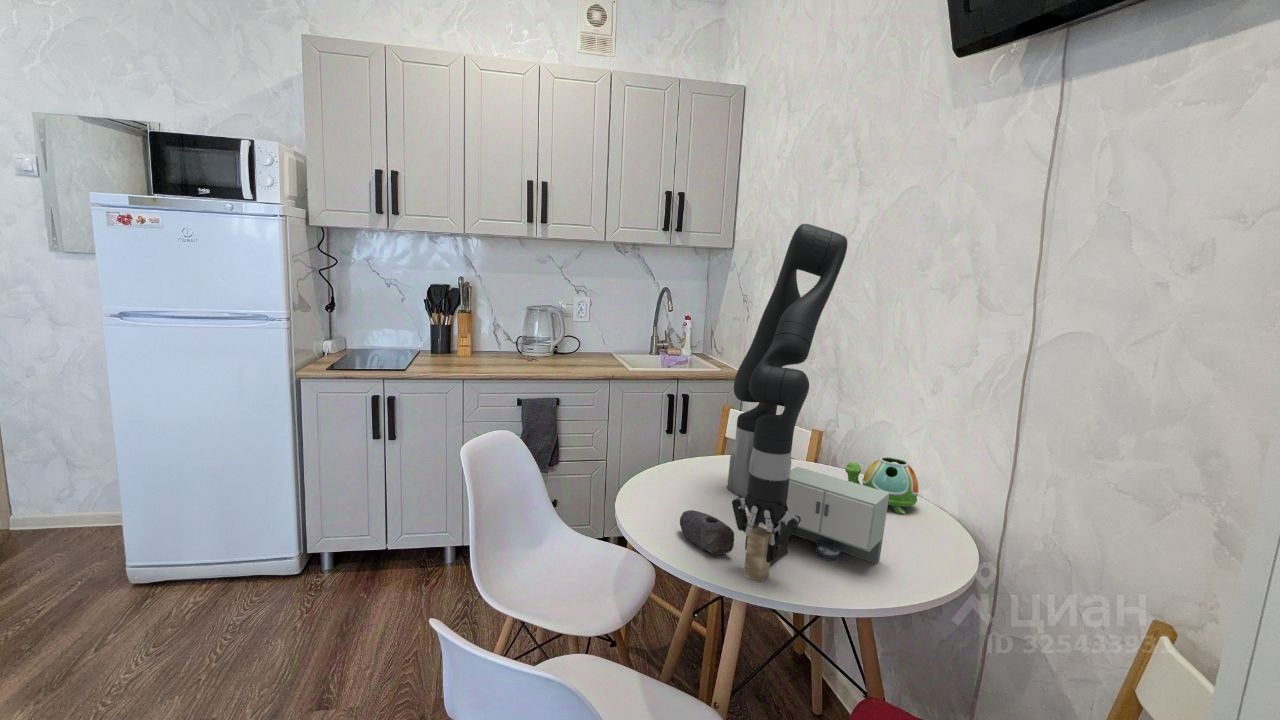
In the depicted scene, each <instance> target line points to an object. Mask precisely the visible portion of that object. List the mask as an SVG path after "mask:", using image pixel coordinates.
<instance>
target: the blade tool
mask: <svg viewBox="0 0 1280 720" xmlns="http://www.w3.org/2000/svg"><path fill="white" fill-rule="evenodd" d="M768 538H769V535H768V533H767V531H766V528H764V527H761V526H759V525H758V526H756V527H754V529H751V530H750V531H748V538H747V548H746V550H745V558H744V569H743V576H744V577H746V578H749V579H751V580H753V581H756V582H758V583H762V582H763V580H765V579H766V578H767V577H769V575H770V568H771V567H772V566H773V565H774V564H776V563H777V562H779V560H781V559H782V558H784V557H785V556H786V555H787V554H788V553H789V545H790V540H789V541H788V542H786V543H785V544H784V545H779V546H778V555H777V558H776V559H775V560H773V561H772V562H771V563H769V562H766V558H767V549H768V544H769V539H768Z"/></svg>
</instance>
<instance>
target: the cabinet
mask: <svg viewBox="0 0 1280 720" xmlns="http://www.w3.org/2000/svg"><path fill="white" fill-rule="evenodd" d="M860 484H861V483H860ZM860 484H857V483H853V482H850V481H848V480H846V479H842V478H839V477H835V476H832V475H828V474H825V473H820V472H818V471H814V470H810V469H807V468H803V467H800V466H796V467H794V468H791V471H790V480H789V488H788V497H787V502H786V503H787V507H788V512H790V513H791V514H792V515H794V516H799V517H800V518H801V521H800V522H799V524H798V526H797V528H796V529H795V531H794V533H793V534H792V535H794V536H797V537H800V538H803V539H806V540H809V541H811V542H814V543H816V544H817V541H818V540H820V539H828V540H833V541H836V542H838V543H839V544H840V545H841V546H842V549H841V553H844V554H848V555H850V556H853V557H856V558H859V559H861V560H864V561H867V562H869V563H873V564H876V565H877V564H879V563H880V561H881V553H882V546H883V542H884V541H883V540H884V534H885V526H886V521H887V520H886V519H887V515H888V514H887V513H888V506H889V505H888V500H889V494H890V493H888V492H885V491H881V490H878V489H874V488H871V487H867V486H864V485H863V484H861V485H860ZM786 526H787V525H785V517H783V518H782V519H781V520H780V536H781V534H782V533H783V531H784V529H785V527H786Z"/></svg>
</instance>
